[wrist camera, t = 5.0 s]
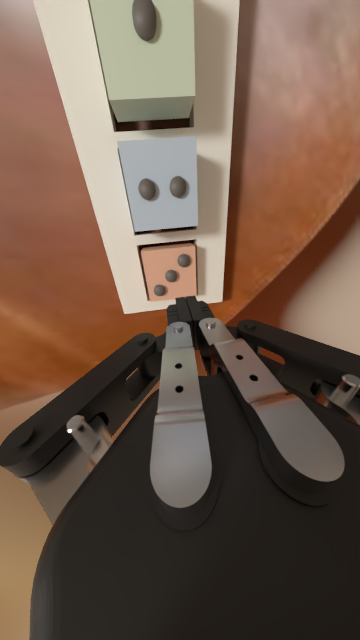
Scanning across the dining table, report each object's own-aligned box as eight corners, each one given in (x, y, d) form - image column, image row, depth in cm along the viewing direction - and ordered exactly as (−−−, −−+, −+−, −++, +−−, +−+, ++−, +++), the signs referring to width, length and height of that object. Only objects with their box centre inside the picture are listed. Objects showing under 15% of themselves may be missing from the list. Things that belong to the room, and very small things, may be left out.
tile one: (183, -15, 11) (192, -93, 8) (188, 118, 14) (196, 93, 12) (92, -14, 11) (70, -95, 8) (117, 122, 14) (107, 97, 11)
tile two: (189, 150, 15) (197, 134, 13) (192, 224, 18) (198, 225, 16) (123, 154, 15) (116, 139, 12) (137, 230, 18) (134, 232, 15)
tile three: (190, 242, 21) (195, 246, 18) (192, 288, 24) (197, 297, 21) (142, 247, 21) (140, 252, 18) (150, 293, 24) (150, 302, 21)
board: (231, -31, 12) (243, -71, 11) (217, 296, 26) (222, 301, 24) (33, -30, 11) (11, -74, 10) (126, 307, 25) (124, 313, 23)
